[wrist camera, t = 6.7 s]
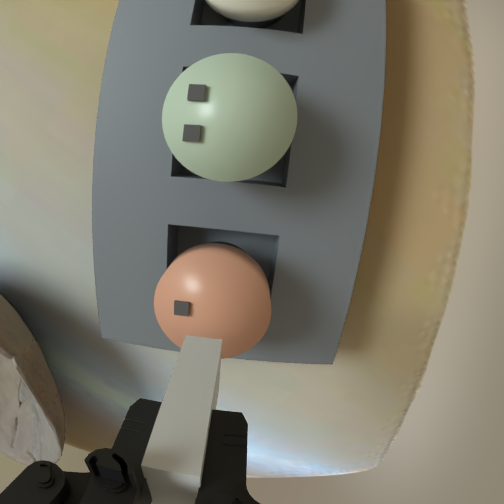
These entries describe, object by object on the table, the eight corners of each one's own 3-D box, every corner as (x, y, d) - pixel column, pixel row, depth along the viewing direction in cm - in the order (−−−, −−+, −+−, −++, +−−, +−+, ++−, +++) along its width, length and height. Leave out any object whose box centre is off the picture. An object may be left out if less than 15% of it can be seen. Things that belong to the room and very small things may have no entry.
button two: (178, 171, 19) (155, 177, 14) (189, 74, 17) (169, 50, 12) (280, 180, 19) (289, 189, 14) (291, 82, 17) (304, 59, 12)
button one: (173, 313, 22) (154, 352, 17) (175, 226, 20) (152, 248, 15) (261, 323, 22) (263, 365, 17) (273, 236, 20) (279, 262, 15)
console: (119, 314, 26) (101, 337, 22) (154, -41, 16) (141, -64, 12) (322, 336, 26) (332, 364, 22) (367, -24, 17) (383, -45, 13)
